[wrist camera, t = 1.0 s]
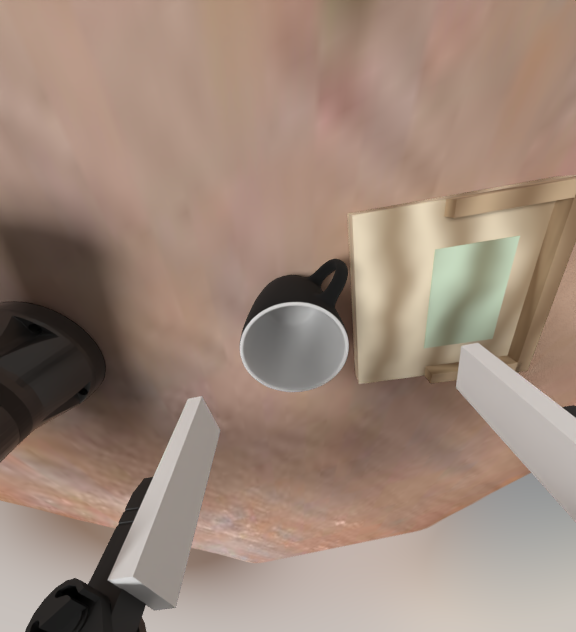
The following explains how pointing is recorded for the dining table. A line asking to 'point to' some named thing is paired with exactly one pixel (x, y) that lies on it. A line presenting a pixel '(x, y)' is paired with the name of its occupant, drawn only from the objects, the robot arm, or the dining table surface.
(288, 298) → the mug
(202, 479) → the robot arm
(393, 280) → the board
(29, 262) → the dining table surface
